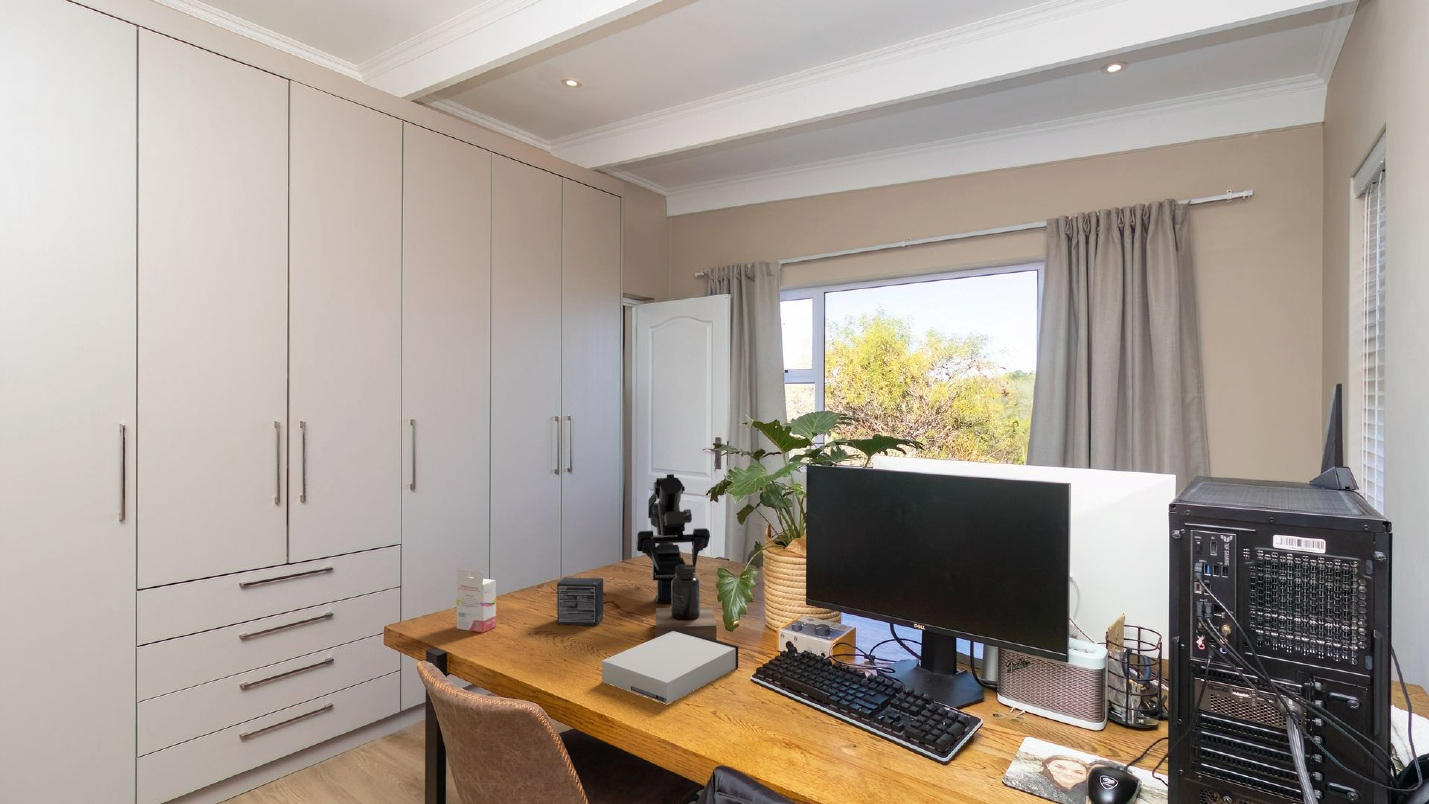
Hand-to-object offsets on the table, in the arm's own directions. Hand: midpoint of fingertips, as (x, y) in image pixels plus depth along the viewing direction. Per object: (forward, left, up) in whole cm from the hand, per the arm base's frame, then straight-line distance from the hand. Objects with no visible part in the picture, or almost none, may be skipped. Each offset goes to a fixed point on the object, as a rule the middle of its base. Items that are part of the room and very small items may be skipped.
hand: (676, 568), depth 171 cm
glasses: (-17, -23, -14) cm, 32 cm away
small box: (-2, -24, -14) cm, 28 cm away
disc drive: (+33, -2, -14) cm, 36 cm away
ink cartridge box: (+1, -49, -14) cm, 51 cm away
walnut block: (+9, +2, -14) cm, 16 cm away
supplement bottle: (+8, +2, -10) cm, 13 cm away
